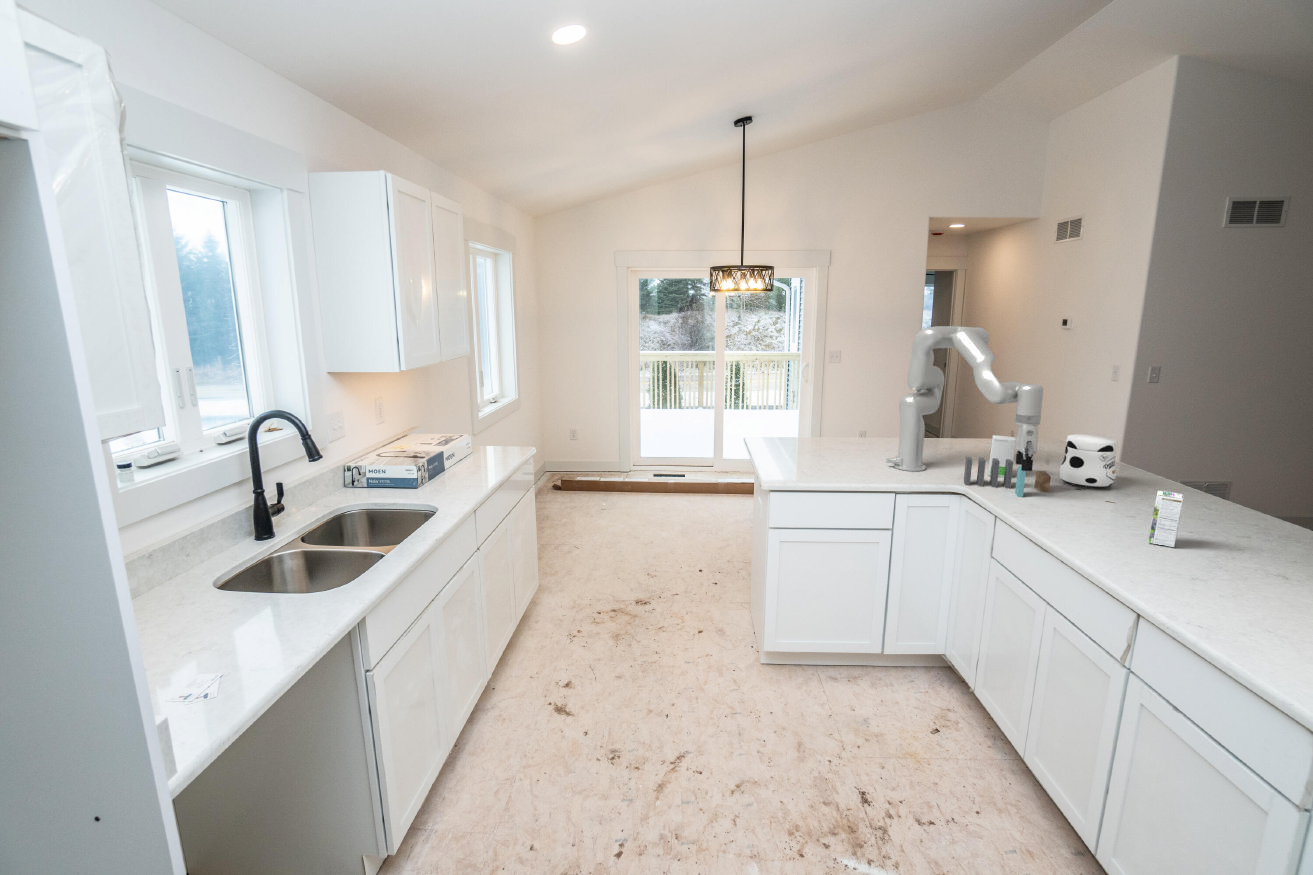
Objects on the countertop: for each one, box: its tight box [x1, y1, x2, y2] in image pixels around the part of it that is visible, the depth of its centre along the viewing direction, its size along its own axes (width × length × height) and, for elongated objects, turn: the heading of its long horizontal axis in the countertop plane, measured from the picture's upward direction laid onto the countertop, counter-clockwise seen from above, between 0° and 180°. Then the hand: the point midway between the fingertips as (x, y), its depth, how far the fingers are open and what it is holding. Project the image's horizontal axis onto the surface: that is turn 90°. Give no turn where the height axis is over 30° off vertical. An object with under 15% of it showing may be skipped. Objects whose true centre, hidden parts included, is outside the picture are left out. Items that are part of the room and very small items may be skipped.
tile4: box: [1002, 459, 1014, 489], centre depth 228 cm, size 2×5×10 cm, turn 160°
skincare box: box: [987, 434, 1017, 478], centre depth 243 cm, size 8×7×16 cm
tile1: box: [963, 456, 973, 486], centre depth 232 cm, size 2×5×10 cm, turn 160°
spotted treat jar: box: [1059, 433, 1118, 489], centre depth 228 cm, size 17×17×18 cm
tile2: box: [976, 456, 987, 487], centre depth 231 cm, size 2×5×10 cm, turn 160°
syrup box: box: [1148, 490, 1184, 548], centre depth 171 cm, size 6×6×14 cm
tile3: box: [989, 458, 1000, 489], centre depth 229 cm, size 2×5×10 cm, turn 160°
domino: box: [1014, 465, 1027, 498], centre depth 217 cm, size 2×5×10 cm, turn 160°
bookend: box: [1034, 470, 1052, 494], centre depth 224 cm, size 3×8×6 cm, turn 160°
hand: (1023, 467), depth 216 cm, fingers open, 9 cm apart
